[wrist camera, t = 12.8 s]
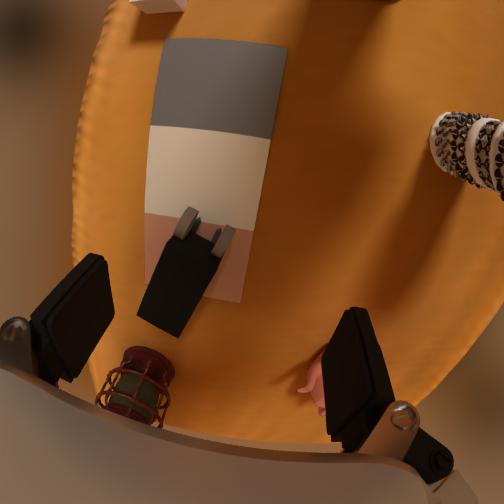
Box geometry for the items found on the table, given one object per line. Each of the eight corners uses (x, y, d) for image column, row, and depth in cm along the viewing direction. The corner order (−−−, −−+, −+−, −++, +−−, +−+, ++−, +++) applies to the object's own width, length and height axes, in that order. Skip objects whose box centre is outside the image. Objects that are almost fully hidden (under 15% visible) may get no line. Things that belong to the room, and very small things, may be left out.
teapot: (381, 323, 39) (401, 371, 30) (378, 368, 44) (391, 412, 35) (293, 341, 42) (296, 393, 33) (303, 384, 47) (306, 430, 38)
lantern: (170, 391, 51) (132, 518, 24) (117, 366, 49) (62, 486, 22) (187, 361, 46) (142, 519, 19) (125, 331, 44) (51, 478, 17)
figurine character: (193, 195, 33) (151, 289, 38) (176, 207, 26) (132, 319, 31) (241, 220, 34) (193, 310, 39) (238, 239, 27) (181, 344, 32)
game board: (165, 39, 24) (165, 38, 23) (288, 48, 24) (288, 48, 24) (146, 283, 38) (145, 284, 38) (240, 302, 39) (240, 303, 38)
